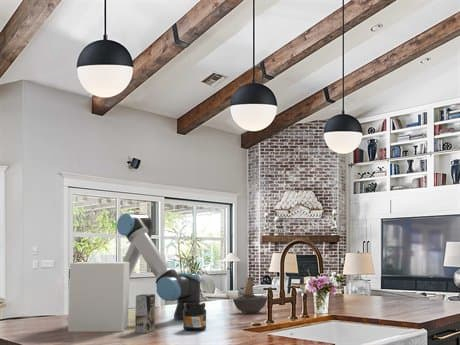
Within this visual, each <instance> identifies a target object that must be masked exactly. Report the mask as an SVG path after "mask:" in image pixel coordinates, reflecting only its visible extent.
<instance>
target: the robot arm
mask: <svg viewBox="0 0 460 345" xmlns="http://www.w3.org/2000/svg"><path fill="white" fill-rule="evenodd" d="M116 230H117V232H118V234H119V235H121V236H123V237H124V236H125V237H126V239H127V241H128V242H129V243H130V245H129V247H128V248H127V251H126V252H125V256H124V258H123V260H122V262H129V280H130V278H131V276H132V274H133V271H134V270H135V268H136V265H137V264H138V262H139V259H140V257H141V256H142V258H143V260H144V262H145V263H146V264H147V266H148V267H149V269H150V271H151V273H152V274H153V275H154V277H155V284H156V285H155V288H156V289H155V290H156V294H157V295H158V297H159V298H160V299H162V300H164V301H166V302H173V301H176V302H177V303H176V307H175V311H174V314H173V320H175V321H183V310H184V309H185V307H184V304H185V303H188V302H201V301H200V300H201V277H200V275H199V274H195V273H185V272H179V273H178V272H177V270H176V269H174V268H171V267H170V265H169V264H168V262H167V261H166V260H165V258H164V257H163V255H162V254H161V252H160V251H159V248H157V246H156V244H155V243H154V241H153V240H152V236H153V231H154V222H153V220H152V218H151V217H150V216H149V215H148V214H145V213H135V212H134V213H133V212H128V213H127V212H126V213H123V214H121V215H120V216H119V217H118V219H117V224H116Z"/></svg>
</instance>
